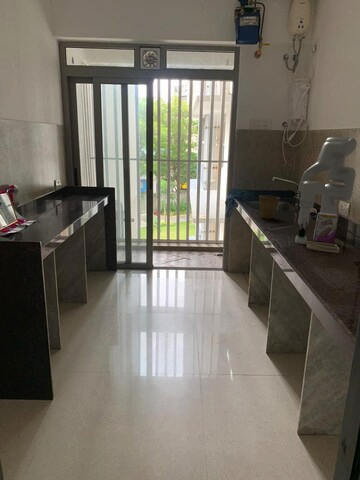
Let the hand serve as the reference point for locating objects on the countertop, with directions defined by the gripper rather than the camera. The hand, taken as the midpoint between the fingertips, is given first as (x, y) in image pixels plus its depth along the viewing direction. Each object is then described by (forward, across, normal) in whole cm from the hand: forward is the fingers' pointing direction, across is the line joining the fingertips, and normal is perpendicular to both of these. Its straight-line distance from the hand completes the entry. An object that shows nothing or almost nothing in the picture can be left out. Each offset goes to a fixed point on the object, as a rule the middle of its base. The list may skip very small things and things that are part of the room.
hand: (301, 236), depth 203 cm
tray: (+4, +8, +11) cm, 14 cm away
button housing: (+4, 0, 0) cm, 4 cm away
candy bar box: (+4, -9, +14) cm, 17 cm away
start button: (+3, 0, 0) cm, 3 cm away
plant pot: (+4, -65, -19) cm, 68 cm away
